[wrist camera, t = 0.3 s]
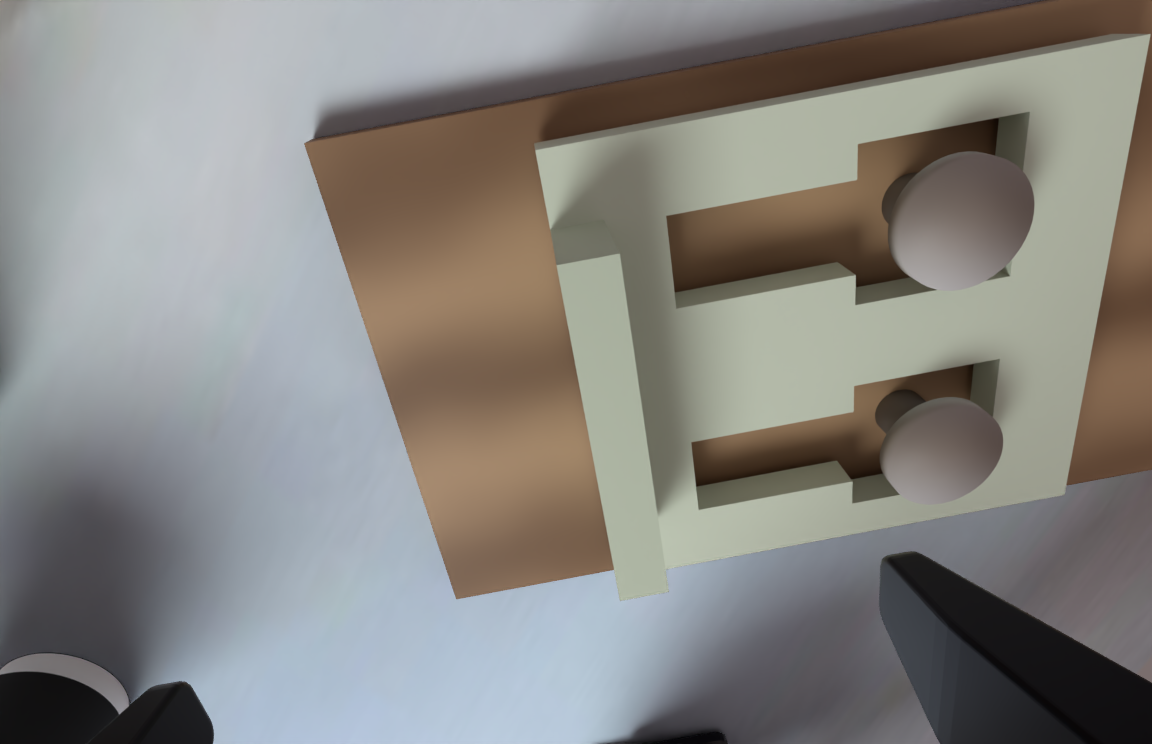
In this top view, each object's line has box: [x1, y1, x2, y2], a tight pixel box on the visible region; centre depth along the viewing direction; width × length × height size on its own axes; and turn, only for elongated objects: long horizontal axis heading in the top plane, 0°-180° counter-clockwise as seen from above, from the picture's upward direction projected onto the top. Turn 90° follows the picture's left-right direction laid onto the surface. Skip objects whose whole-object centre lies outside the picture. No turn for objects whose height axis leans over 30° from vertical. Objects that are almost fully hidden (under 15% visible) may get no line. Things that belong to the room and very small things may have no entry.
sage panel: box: [534, 34, 1151, 601], centre depth 19 cm, size 14×15×4 cm
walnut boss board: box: [304, 0, 1152, 599], centre depth 20 cm, size 16×26×4 cm, turn 100°
